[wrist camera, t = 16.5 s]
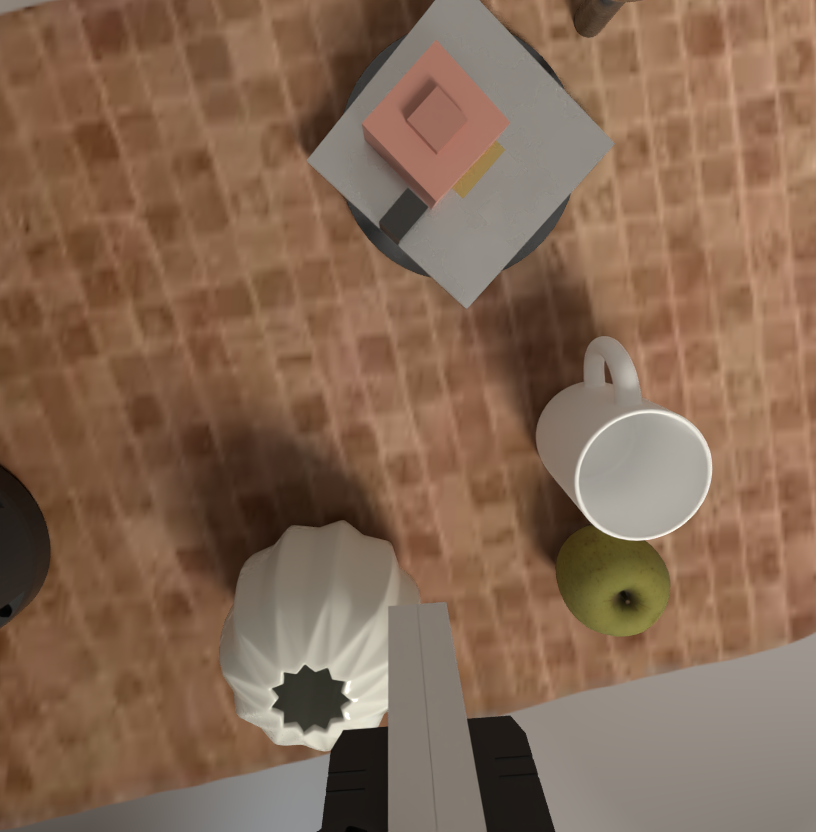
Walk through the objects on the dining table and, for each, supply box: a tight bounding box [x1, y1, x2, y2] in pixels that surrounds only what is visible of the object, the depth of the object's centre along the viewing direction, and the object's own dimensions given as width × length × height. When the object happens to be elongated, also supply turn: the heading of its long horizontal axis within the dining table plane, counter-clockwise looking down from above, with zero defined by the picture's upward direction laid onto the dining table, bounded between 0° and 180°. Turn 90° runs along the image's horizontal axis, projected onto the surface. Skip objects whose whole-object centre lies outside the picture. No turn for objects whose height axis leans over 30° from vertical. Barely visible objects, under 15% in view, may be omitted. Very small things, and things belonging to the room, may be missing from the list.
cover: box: [362, 40, 510, 209], centre depth 35 cm, size 6×6×5 cm
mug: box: [536, 336, 712, 541], centre depth 39 cm, size 12×8×10 cm
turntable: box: [307, 0, 615, 309], centre depth 36 cm, size 14×14×6 cm
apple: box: [556, 525, 670, 636], centre depth 44 cm, size 8×8×7 cm
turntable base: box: [343, 34, 571, 277], centre depth 40 cm, size 16×16×1 cm
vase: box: [219, 520, 421, 751], centre depth 41 cm, size 14×14×13 cm
